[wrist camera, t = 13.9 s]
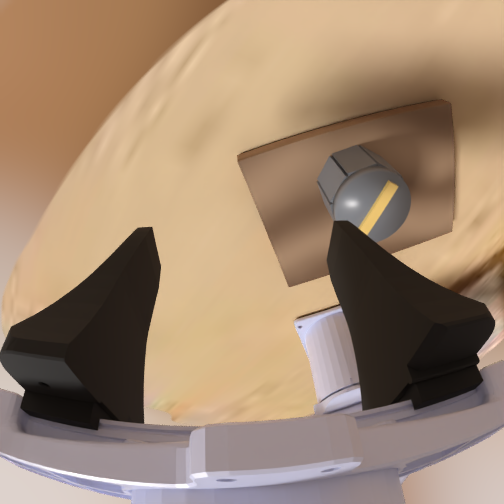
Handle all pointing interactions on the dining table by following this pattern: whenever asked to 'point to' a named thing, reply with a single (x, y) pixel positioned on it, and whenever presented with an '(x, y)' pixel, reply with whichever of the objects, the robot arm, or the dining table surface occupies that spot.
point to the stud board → (322, 146)
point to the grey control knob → (364, 192)
